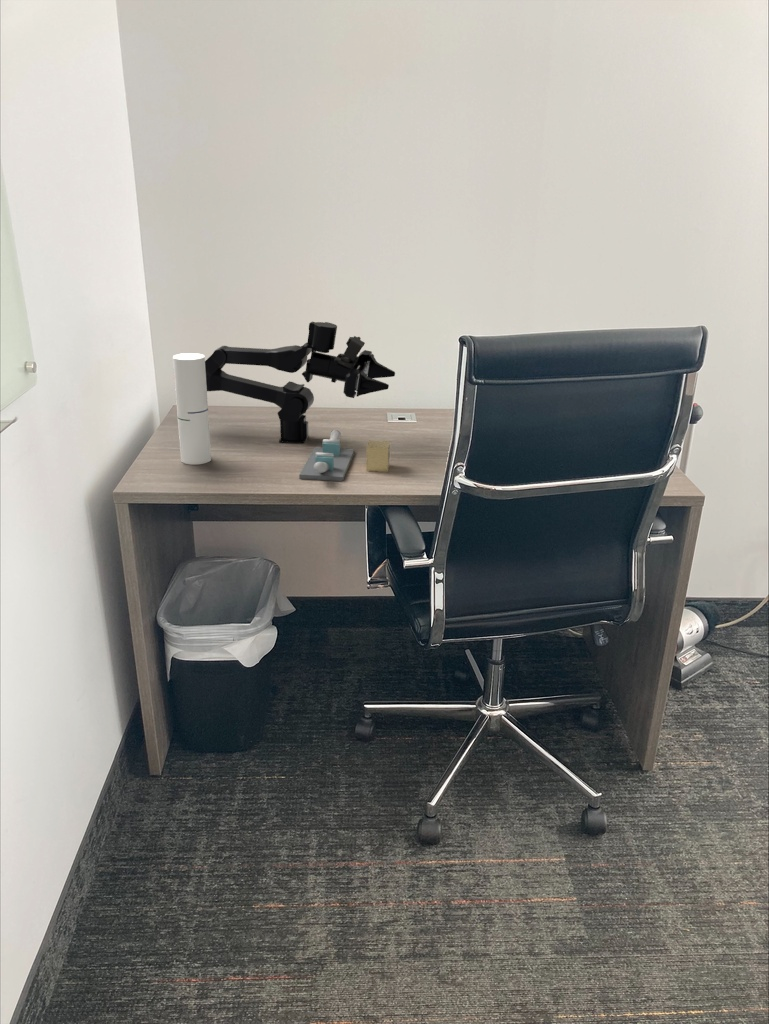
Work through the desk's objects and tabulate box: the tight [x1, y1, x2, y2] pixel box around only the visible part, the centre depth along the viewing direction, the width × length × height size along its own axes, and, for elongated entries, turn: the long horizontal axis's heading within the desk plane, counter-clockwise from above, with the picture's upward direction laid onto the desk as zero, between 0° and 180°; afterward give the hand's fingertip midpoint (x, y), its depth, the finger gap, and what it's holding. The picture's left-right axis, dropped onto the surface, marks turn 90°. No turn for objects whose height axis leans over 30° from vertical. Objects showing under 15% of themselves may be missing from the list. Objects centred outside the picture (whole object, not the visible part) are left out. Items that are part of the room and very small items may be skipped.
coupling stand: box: [298, 429, 355, 482], centre depth 192 cm, size 10×26×5 cm, turn 175°
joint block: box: [365, 440, 391, 473], centre depth 191 cm, size 5×5×6 cm
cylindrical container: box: [172, 352, 212, 466], centre depth 190 cm, size 7×7×25 cm
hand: (391, 380), depth 200 cm, fingers open, 9 cm apart
